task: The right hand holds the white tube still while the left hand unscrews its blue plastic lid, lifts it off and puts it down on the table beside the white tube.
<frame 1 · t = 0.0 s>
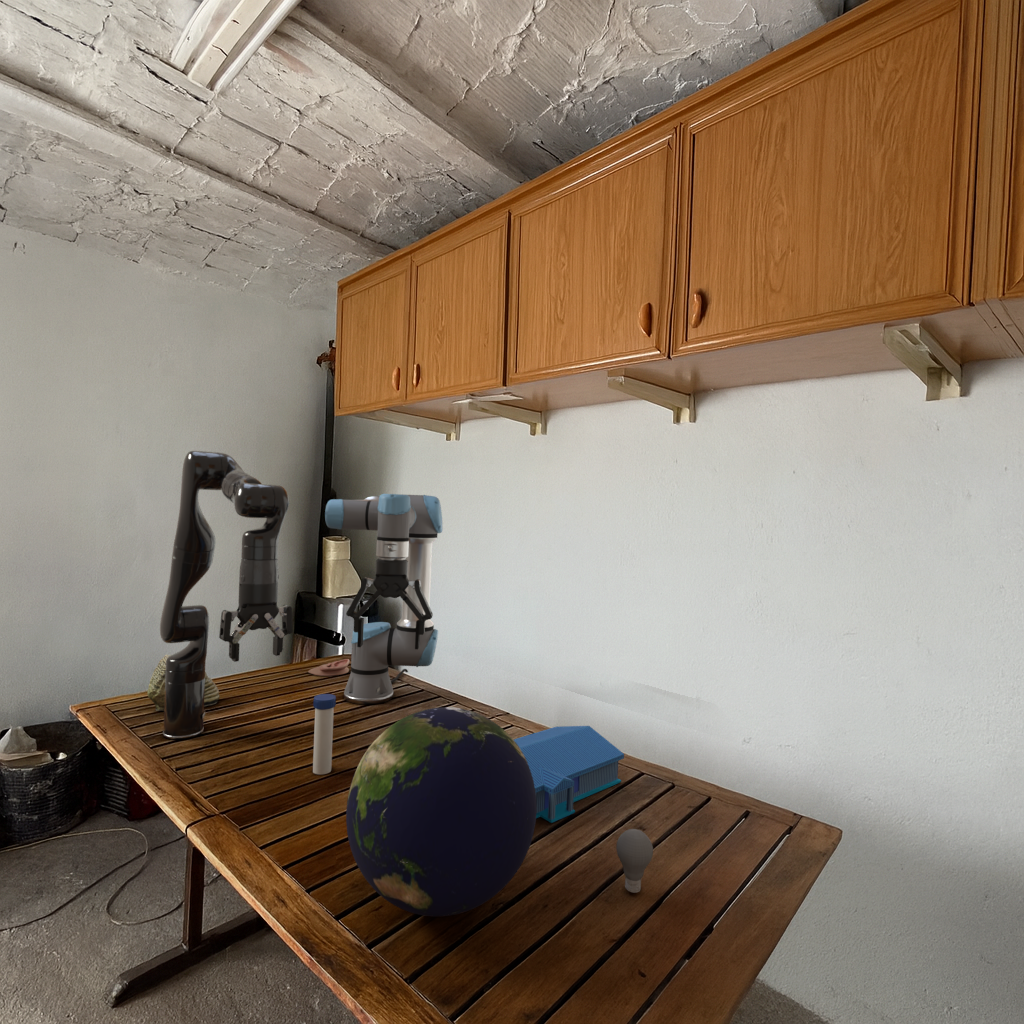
left hand: (256, 657, 132), 29 cm above the table, tool pointing down, fingers open, 8 cm apart
right hand: (388, 647, 151), 28 cm above the table, tool pointing down, fingers open, 13 cm apart
anatomical model: (329, 672, 227), on the table
fossil: (183, 706, 185), on the table
light bulb: (632, 891, 106), on the table
lid: (324, 698, 146), point 17 cm above the table, screwed on, not yet turned
model building: (534, 791, 141), on the table
white tube: (322, 770, 146), on the table
globe: (438, 899, 101), on the table
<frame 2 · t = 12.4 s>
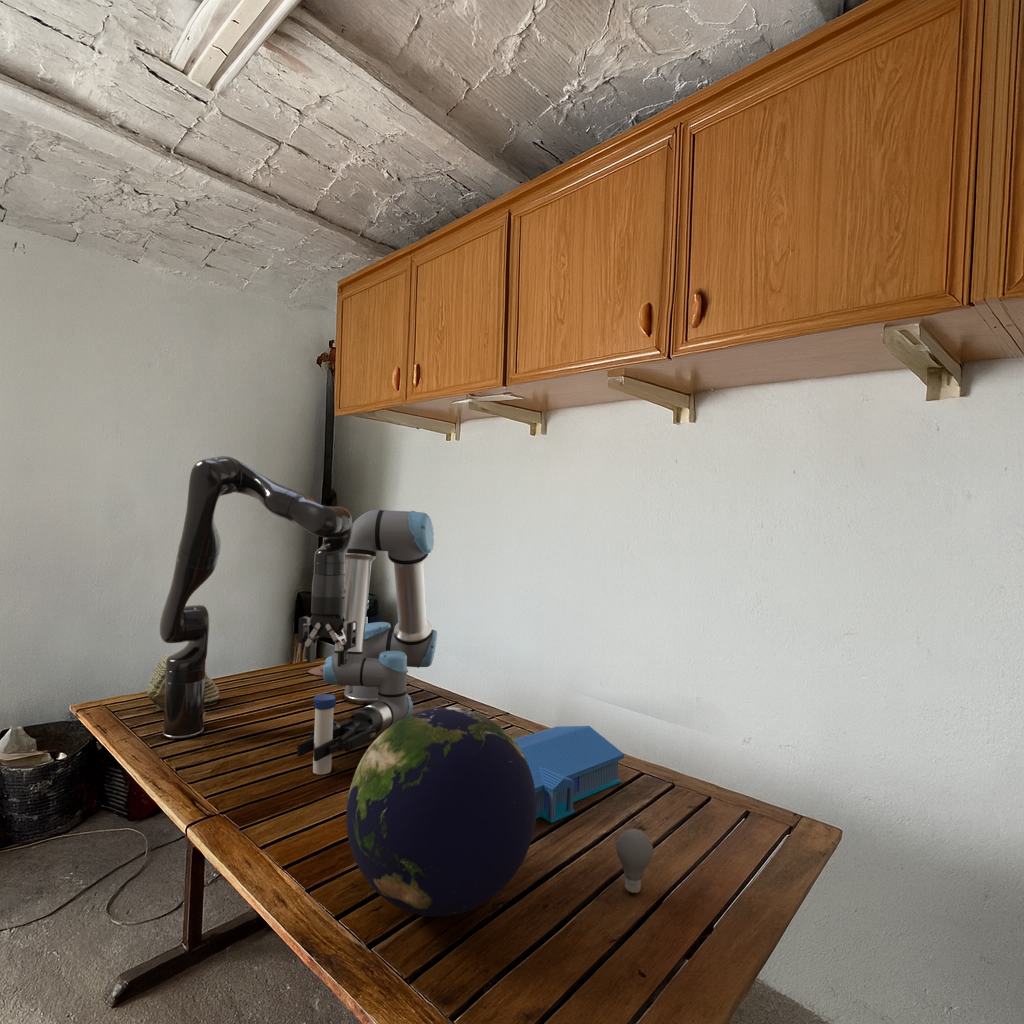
left hand: (326, 664, 146), 25 cm above the table, tool pointing down, fingers open, 7 cm apart
right hand: (307, 752, 141), 6 cm above the table, tool horizontal, fingers closed on white tube, 4 cm apart
white tube: (322, 770, 146), on the table, touching right hand
everything else where it was.
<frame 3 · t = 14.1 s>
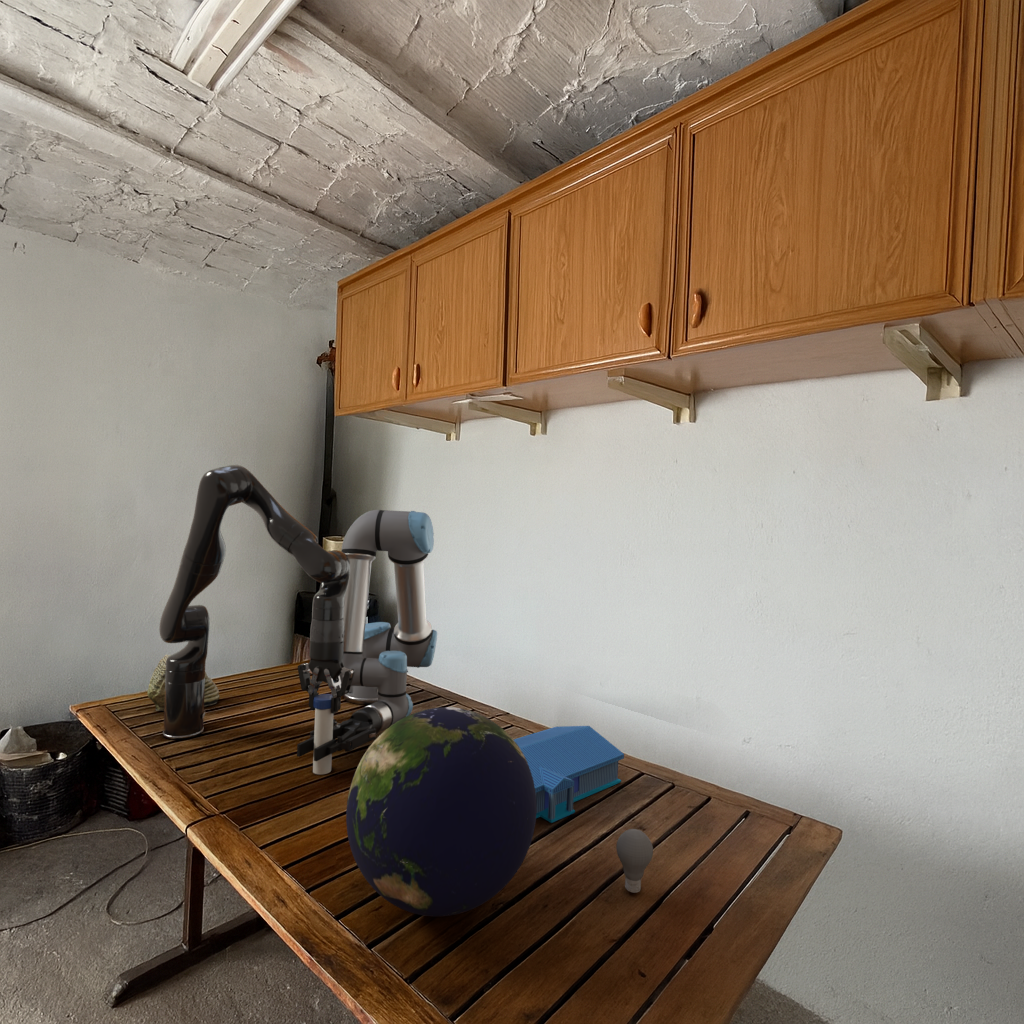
left hand: (324, 710, 146), 14 cm above the table, tool pointing down, fingers closed on lid, 4 cm apart
right hand: (307, 752, 141), 6 cm above the table, tool horizontal, fingers closed on white tube, 4 cm apart
lid: (324, 698, 146), point 17 cm above the table, screwed on, not yet turned, touching left hand
white tube: (322, 770, 146), on the table, touching right hand
everything else where it was.
when the left hand's fingers open (14 cm above the table, at t = 15.5 s): lid stays where it is, point 17 cm above the table.
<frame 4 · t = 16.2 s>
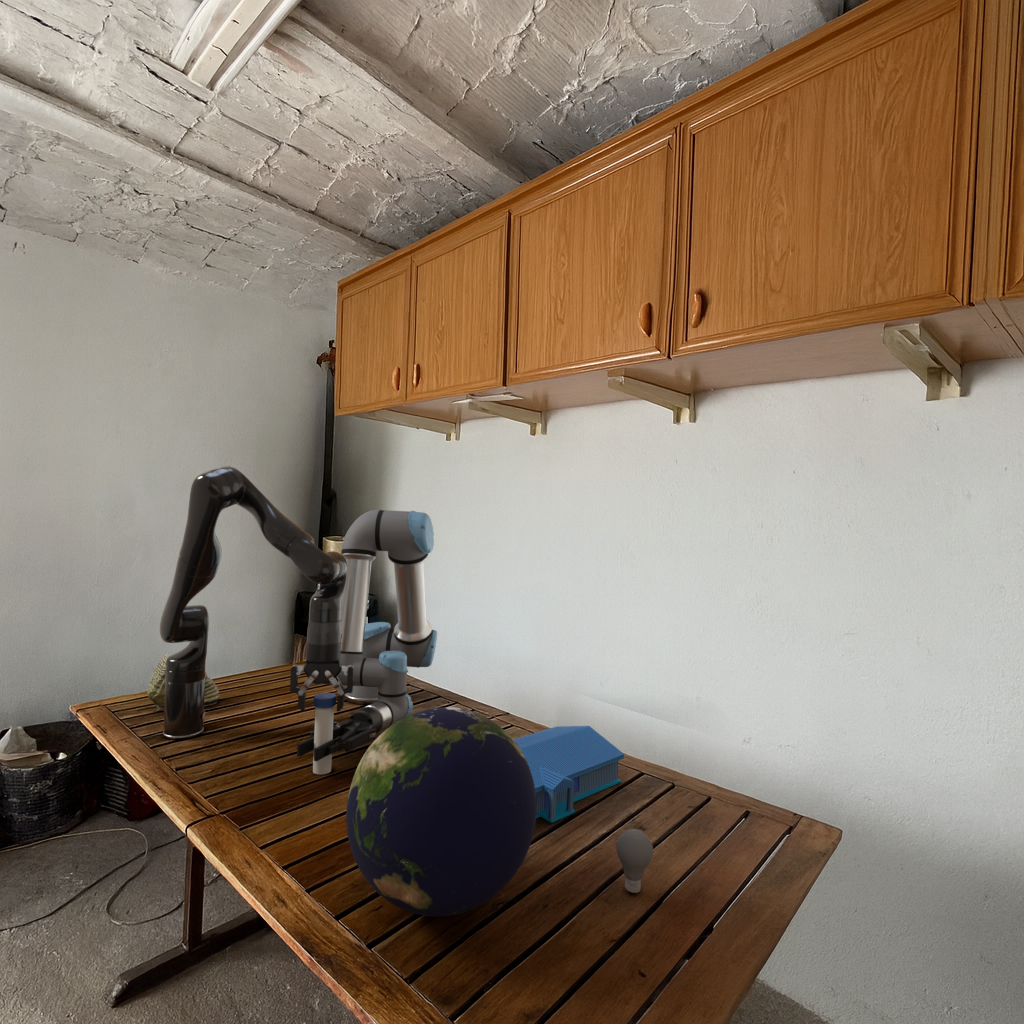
left hand: (320, 710, 145), 14 cm above the table, tool pointing down, fingers open, 7 cm apart
right hand: (307, 752, 141), 6 cm above the table, tool horizontal, fingers closed on white tube, 4 cm apart
lid: (325, 697, 146), point 17 cm above the table, turned 68° so far, risen 0.2 cm, still on its thread
white tube: (322, 770, 146), on the table, touching right hand
everything else where it was.
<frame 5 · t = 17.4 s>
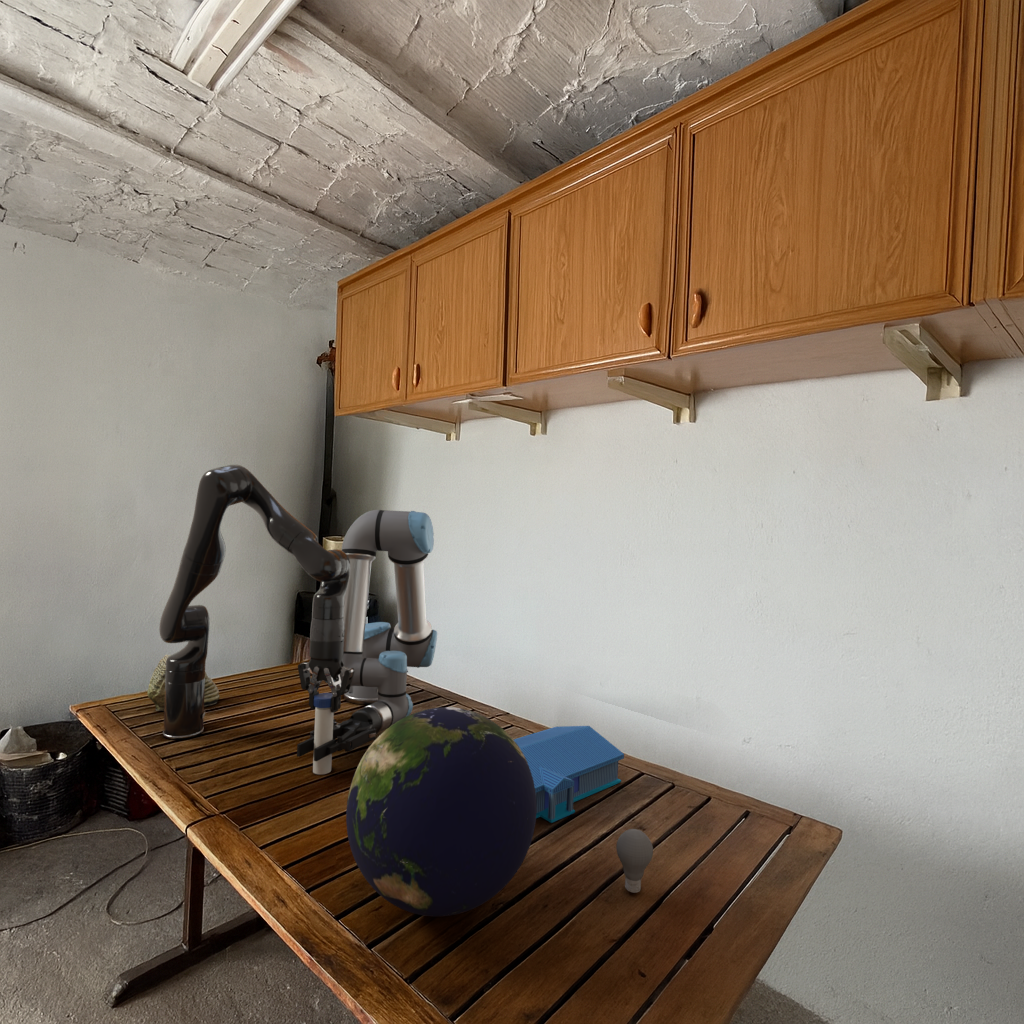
left hand: (324, 709, 146), 14 cm above the table, tool pointing down, fingers closed on lid, 4 cm apart
right hand: (307, 752, 141), 6 cm above the table, tool horizontal, fingers closed on white tube, 4 cm apart
lid: (325, 697, 146), point 17 cm above the table, turned 68° so far, risen 0.2 cm, still on its thread, touching left hand
white tube: (322, 770, 146), on the table, touching right hand
everything else where it was.
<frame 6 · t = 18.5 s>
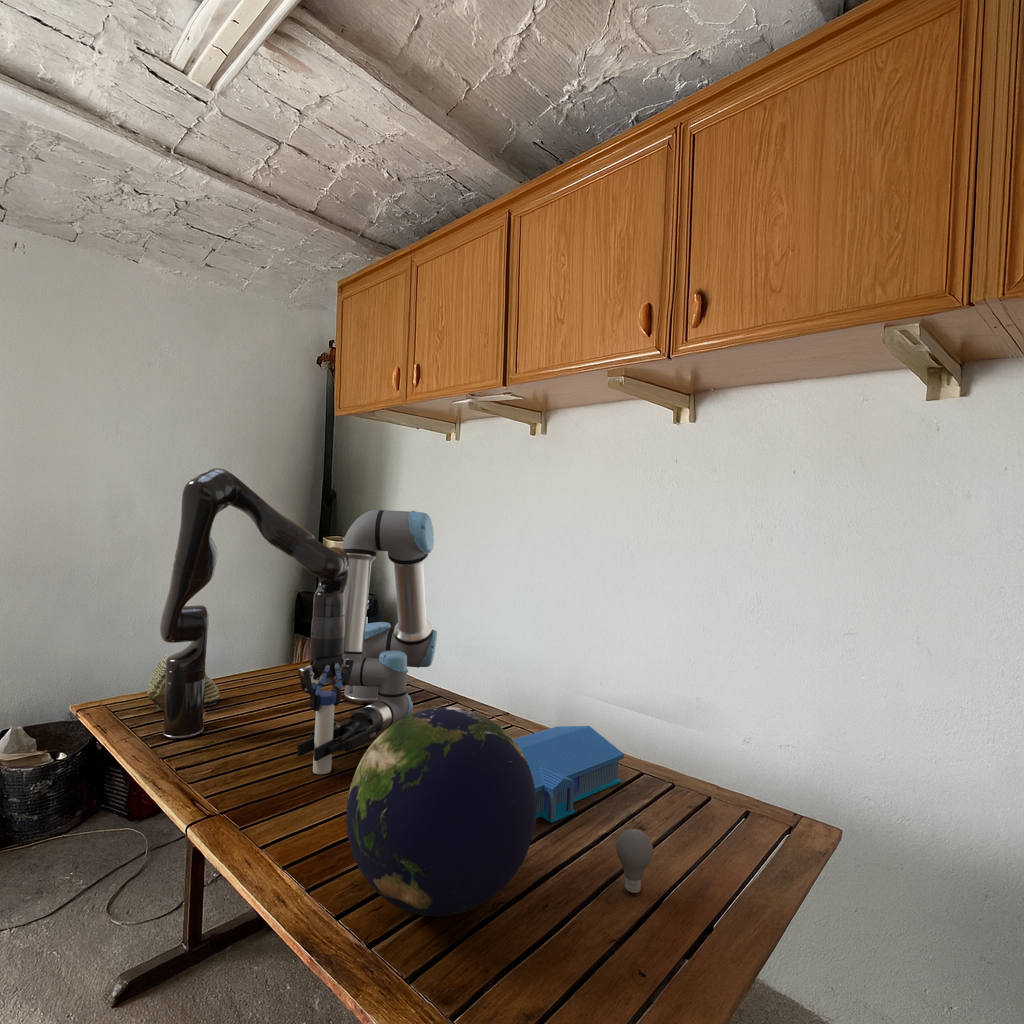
left hand: (325, 707, 146), 15 cm above the table, tool pointing down, fingers closed on lid, 4 cm apart
right hand: (307, 752, 141), 6 cm above the table, tool horizontal, fingers closed on white tube, 4 cm apart
lid: (325, 695, 146), point 18 cm above the table, off its thread, touching left hand
white tube: (322, 770, 146), on the table, touching right hand
everything else where it was.
when the left hand's fingers open (0 cm above the table, at t = 24.2 s): lid drops 1 cm, point 2 cm above the table.
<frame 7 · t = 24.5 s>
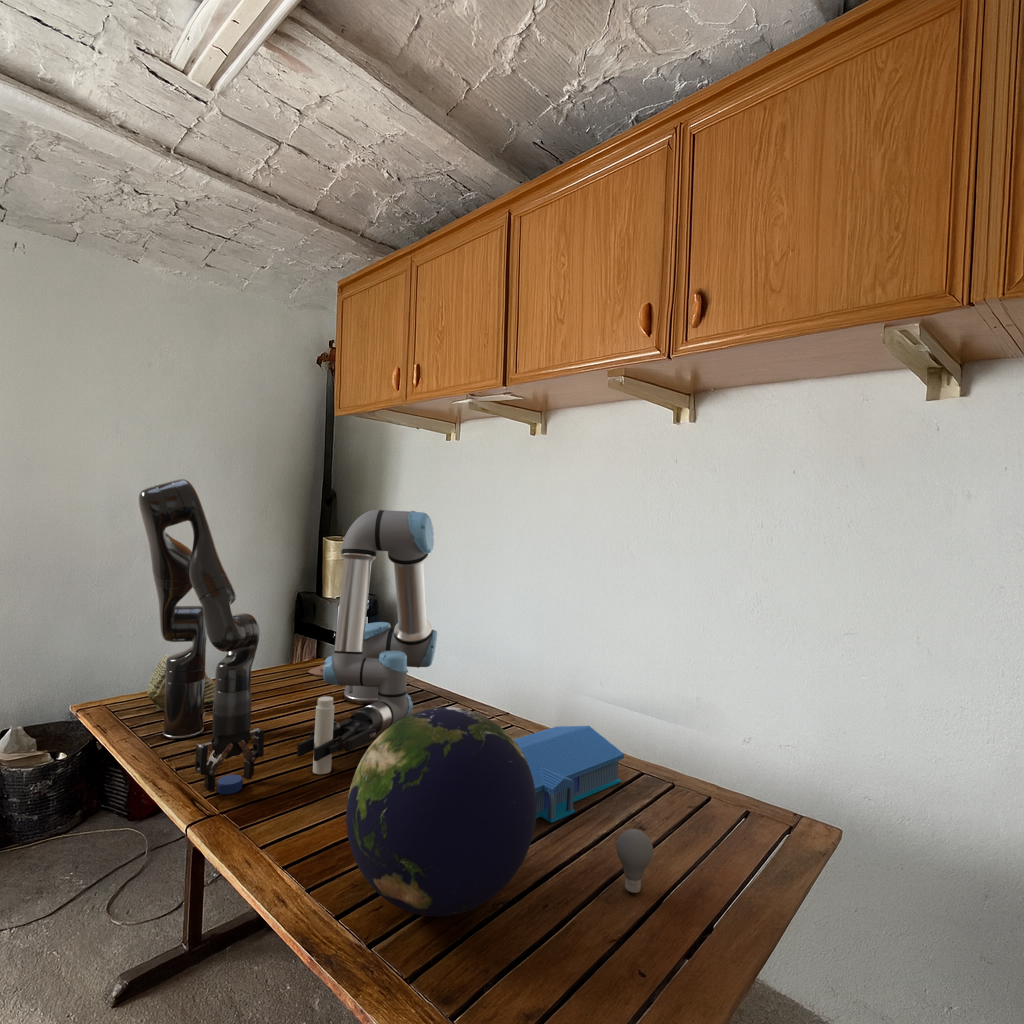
left hand: (229, 784, 135), 1 cm above the table, tool pointing down, fingers open, 8 cm apart
right hand: (307, 752, 141), 6 cm above the table, tool horizontal, fingers closed on white tube, 4 cm apart
lid: (230, 781, 135), point 2 cm above the table, off its thread
white tube: (321, 770, 146), on the table, touching right hand
everything else where it was.
when the right hand's fingers open (6 cm above the table, at t = 25.0 s): white tube stays where it is, on the table.
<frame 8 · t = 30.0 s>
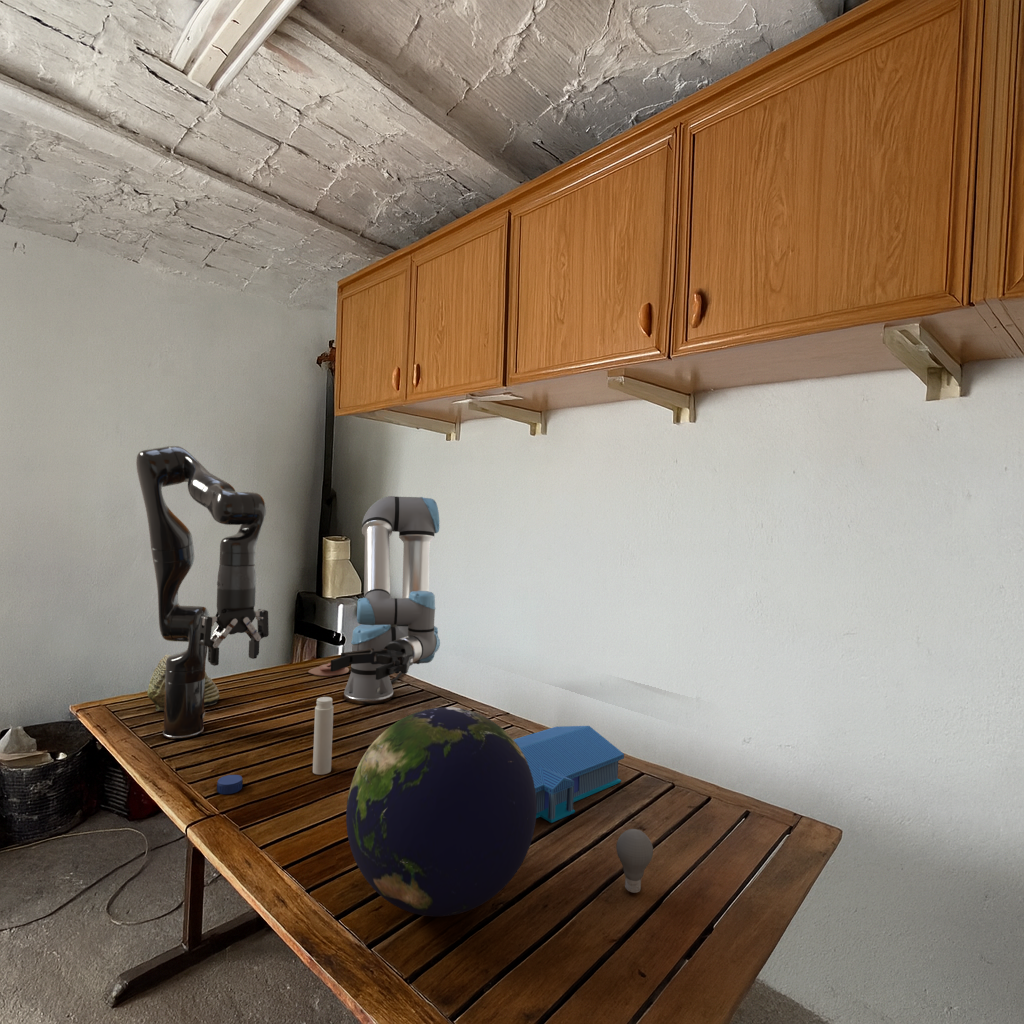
left hand: (234, 661, 135), 27 cm above the table, tool pointing down, fingers open, 8 cm apart
right hand: (353, 670, 156), 21 cm above the table, tool horizontal, fingers open, 13 cm apart
white tube: (321, 770, 146), on the table
everything else where it was.
at the end: lid came off its thread; lid point 1.7 cm above the table; the left hand is holding nothing; the right hand is holding nothing; white tube tilted 0°; white tube moved 0.1 cm from its start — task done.
